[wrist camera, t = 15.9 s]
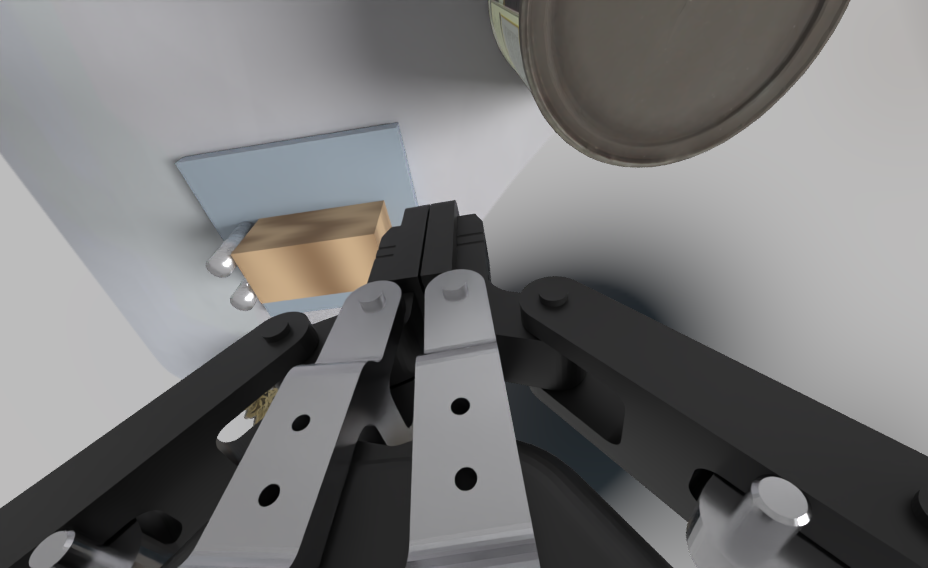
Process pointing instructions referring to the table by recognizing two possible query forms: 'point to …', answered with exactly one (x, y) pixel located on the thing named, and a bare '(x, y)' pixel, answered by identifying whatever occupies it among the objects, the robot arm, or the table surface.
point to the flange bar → (312, 251)
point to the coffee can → (659, 68)
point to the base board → (303, 184)
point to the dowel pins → (233, 267)
